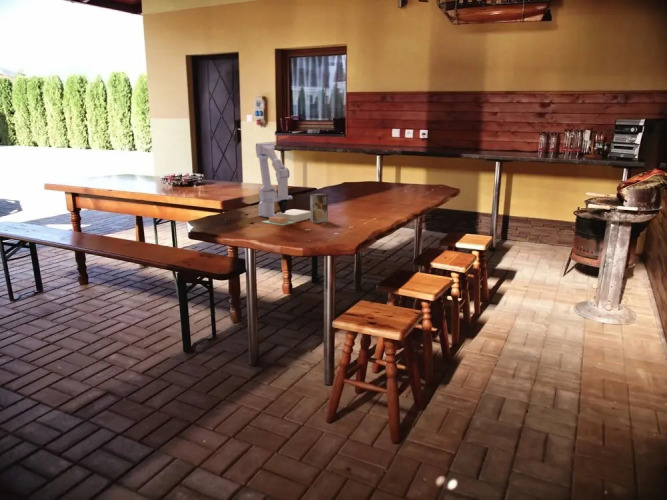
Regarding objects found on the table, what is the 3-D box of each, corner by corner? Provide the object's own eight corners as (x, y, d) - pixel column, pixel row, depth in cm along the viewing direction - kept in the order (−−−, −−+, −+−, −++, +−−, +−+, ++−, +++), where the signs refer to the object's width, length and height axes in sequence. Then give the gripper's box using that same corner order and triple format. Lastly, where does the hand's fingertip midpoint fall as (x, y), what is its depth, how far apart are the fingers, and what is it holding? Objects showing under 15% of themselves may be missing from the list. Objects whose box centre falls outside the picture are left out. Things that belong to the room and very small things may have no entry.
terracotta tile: (275, 215, 307) (275, 220, 308) (268, 217, 303) (268, 221, 303) (287, 217, 302) (287, 221, 303) (280, 219, 298) (280, 223, 298)
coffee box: (325, 220, 311) (325, 193, 307) (327, 222, 305) (328, 194, 301) (310, 220, 309) (309, 193, 305) (312, 223, 303) (312, 195, 299)
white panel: (276, 219, 312) (276, 212, 311) (293, 215, 325) (293, 209, 324) (294, 222, 304) (294, 215, 303) (311, 218, 317) (311, 211, 316)
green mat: (261, 222, 303) (261, 221, 303) (275, 219, 313) (275, 218, 313) (282, 225, 294) (282, 225, 294) (296, 222, 304) (296, 221, 304)
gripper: (279, 191, 294) (280, 215, 298) (296, 188, 306) (296, 211, 309) (270, 190, 298) (270, 214, 302) (286, 187, 310) (287, 210, 313)
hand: (283, 212), depth 306 cm, fingers closed
